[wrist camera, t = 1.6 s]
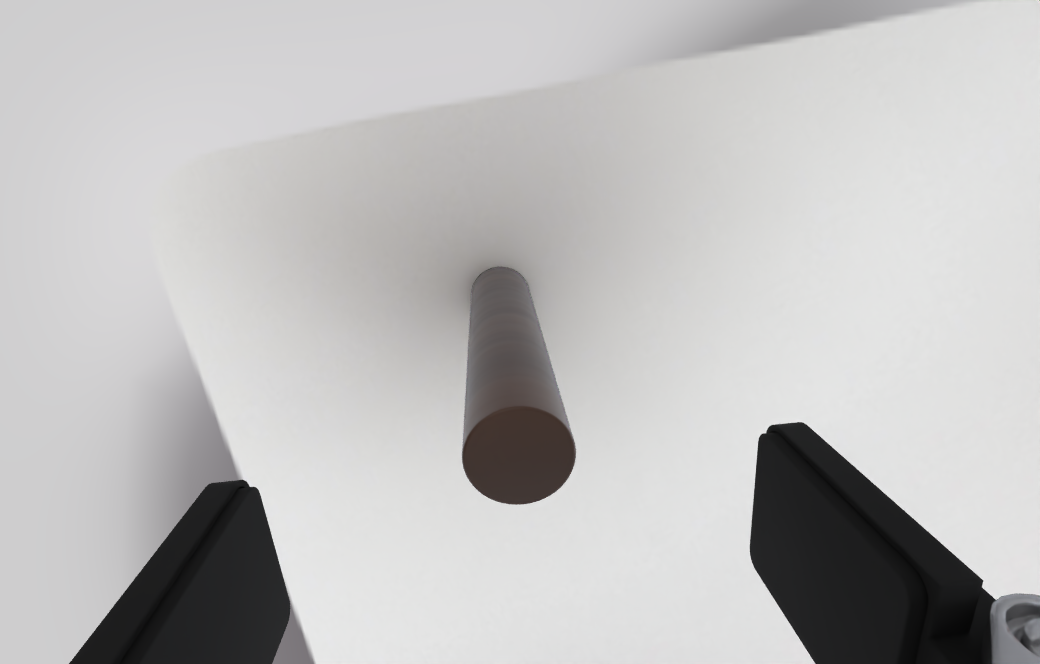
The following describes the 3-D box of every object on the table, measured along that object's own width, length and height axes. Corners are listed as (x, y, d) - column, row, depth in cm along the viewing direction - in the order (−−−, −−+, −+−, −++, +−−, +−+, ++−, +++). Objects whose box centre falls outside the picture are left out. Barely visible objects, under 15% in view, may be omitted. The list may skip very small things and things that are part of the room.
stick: (468, 269, 22) (455, 413, 11) (527, 264, 22) (573, 401, 11) (474, 325, 23) (468, 511, 12) (531, 319, 23) (578, 499, 12)
